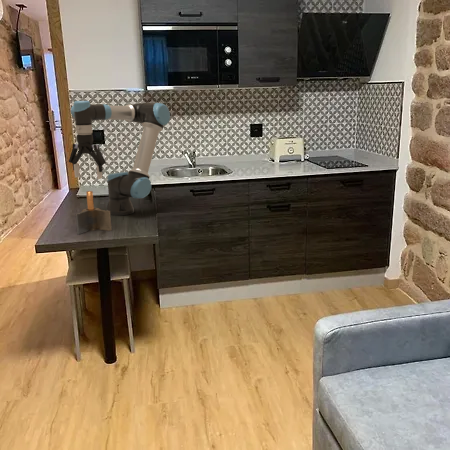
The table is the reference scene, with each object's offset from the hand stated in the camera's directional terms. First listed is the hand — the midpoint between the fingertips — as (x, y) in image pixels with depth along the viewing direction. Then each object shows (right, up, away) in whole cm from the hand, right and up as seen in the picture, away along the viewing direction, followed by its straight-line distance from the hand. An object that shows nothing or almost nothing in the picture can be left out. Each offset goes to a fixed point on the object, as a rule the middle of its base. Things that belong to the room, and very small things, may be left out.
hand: (88, 177), depth 231 cm
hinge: (+2, -26, +2) cm, 26 cm away
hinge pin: (0, -25, +7) cm, 26 cm away
